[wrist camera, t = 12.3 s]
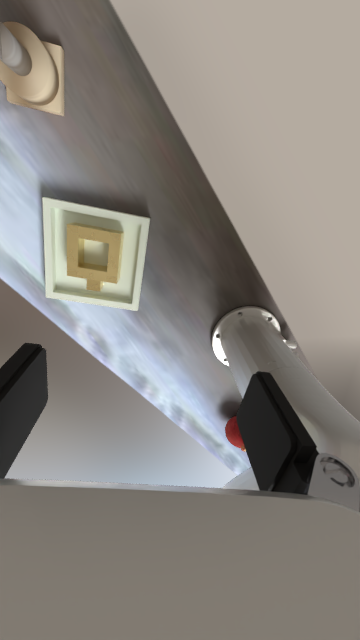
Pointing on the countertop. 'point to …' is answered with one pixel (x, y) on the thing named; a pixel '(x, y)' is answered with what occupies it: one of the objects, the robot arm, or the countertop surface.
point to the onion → (234, 434)
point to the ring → (93, 271)
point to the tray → (93, 253)
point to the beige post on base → (31, 69)
